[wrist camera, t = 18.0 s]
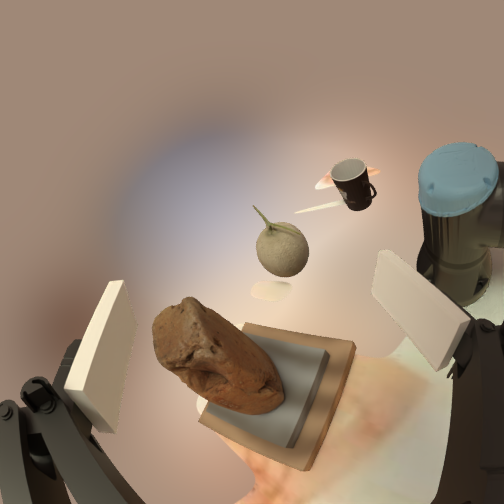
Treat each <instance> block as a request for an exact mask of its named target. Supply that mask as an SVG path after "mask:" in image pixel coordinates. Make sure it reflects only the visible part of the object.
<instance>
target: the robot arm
mask: <svg viewBox="0 0 504 504" xmlns="http://www.w3.org/2000/svg"><path fill="white" fill-rule="evenodd" d="M418 180H419V181H418V182H419V202H420V205H421V210H422V219H423V228H424V242H423V244H422V247H421V249H420V252H419V254H418V258H417V271H416V270H415V269H413V268H412V267H411V266H410V265H408V264H407V263H406V262H405V261H403V260H402V259H401V258H400V257H398V256H397V255H396V254H395V253H393V252H392V251H391V250H382V251H379V252H378V257H377V263H376V269H375V274H374V280H373V285H372V290H371V294H372V296H373V297H374V298H375V299H376V300H377V301H378V302H379V303H380V305H382V307H383V308H384V309H385V310H386V311H387V312H388V314H389V315H390V316H391V317H392V318H393V320H394V321H395V322H396V323H397V324H398V325H399V327H400V328H401V329H402V330H403V331H404V333H405V334H406V335H407V336H408V337H409V339H410V340H411V341H412V342H413V343H414V345H415V346H416V347H417V348H418V350H419V351H420V352H421V353H422V355H423V356H424V357H425V358H426V360H427V361H428V362H429V363H430V365H431V366H432V367H433V368H434V370H435V371H436V372H437V371H439V370H441V369H443V368H444V367H446V366H447V365H448V364H449V362H450V360H451V358H452V356H453V358H454V359H455V360H456V361H455V363H454V364H453V366H452V368H451V370H450V371H449V373H448V375H447V378H449V377H450V375H451V374H452V373H453V376H452V378H451V379H453V393H452V409H451V420H450V429H449V437H448V443H447V450H446V455H445V461H444V466H443V471H442V475H441V480H440V484H439V488H438V491H437V494H436V497H435V498H434V500H433V501H432V502H431V504H504V321H503V323H502V325H497V326H495V325H494V324H493V323H492V322H491V321H489V320H487V319H481V318H480V319H477V320H475V319H474V318H473V317H472V316H471V315H470V314H469V313H468V312H467V311H466V310H465V309H464V308H462V307H465V306H468V305H470V304H472V303H474V302H475V301H477V300H478V299H479V298H480V297H481V296H482V295H483V294H484V292H485V291H486V289H487V287H488V284H489V281H490V278H491V273H492V261H491V255H490V250H489V247H496V248H504V162H497V161H496V160H495V158H494V156H493V155H492V154H491V153H490V152H489V151H488V150H487V149H485V148H483V147H477V145H476V144H473V143H466V142H458V143H451V144H447V145H444V146H442V147H440V148H438V149H436V150H434V151H433V153H431V154H430V155H428V156H427V157H426V158H425V160H424V161H423V163H422V165H421V167H420V169H419V174H418ZM137 326H138V323H137V320H136V318H135V315H134V312H133V309H132V306H131V302H130V299H129V296H128V293H127V289H126V286H125V283H124V280H119V281H110V282H109V284H108V286H107V288H106V290H105V292H104V294H103V296H102V298H101V300H100V302H99V304H98V306H97V308H96V311H95V313H94V315H93V317H92V319H91V321H90V324H89V326H88V328H87V330H86V333H85V335H84V337H83V340H74V341H73V343H72V344H71V345H70V346H69V347H68V348H67V350H66V353H65V355H64V359H63V360H62V362H61V366H60V367H59V369H58V372H57V374H56V377H55V379H54V382H53V384H52V386H51V384H50V383H49V382H48V380H47V379H46V378H44V377H34V378H31V379H30V380H28V381H27V382H26V383H25V384H24V386H23V387H22V390H21V393H20V394H21V399H22V401H23V402H24V403H25V404H26V405H27V406H28V407H23V408H19V406H18V405H17V404H16V403H15V402H14V401H12V400H5V401H3V402H1V403H0V489H1V494H2V499H3V504H71V502H70V499H69V496H68V493H67V490H66V487H65V484H64V482H65V483H66V485H67V487H68V489H69V490H70V492H71V493H72V495H73V497H74V499H75V500H76V502H77V503H78V504H145V502H144V501H143V500H142V499H141V498H140V497H139V496H138V495H137V493H136V492H135V491H134V490H133V489H132V488H131V486H130V485H129V484H128V483H127V481H126V480H125V479H124V478H123V476H122V475H121V474H120V473H119V471H118V470H117V469H116V467H115V466H114V465H113V463H112V462H111V461H110V459H109V458H108V456H107V455H106V454H105V452H104V451H103V449H102V448H101V446H100V445H99V443H98V442H97V440H96V439H95V437H94V436H93V435H92V434H91V429H92V425H93V426H94V427H95V428H96V429H97V430H98V432H102V433H113V434H116V433H117V426H118V420H119V413H120V407H121V401H122V395H123V390H124V385H125V380H126V375H127V370H128V365H129V360H130V356H131V351H132V347H133V343H134V338H135V334H136V330H137Z"/></svg>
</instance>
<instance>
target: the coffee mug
mask: <svg viewBox="0 0 504 504" xmlns="http://www.w3.org/2000/svg"><path fill="white" fill-rule="evenodd" d="M330 176H331V178H332V180H333V181H334V183H335V185H336V187H337V188H338V190H339V192H340V193H341V195H342V197H343V199H344V201H345V202H346V204H347V206H348V208H349V209H351V210H353V211H361V210H364V209H366V208H368V207H369V206H370V204H371V203H372V199H373V198H374V197H375V196H376V194H377V192H376V190H375V188H374V186H373V185H372V184H371V183H369V179H368V173H367V168H366V163H365V162H364V161H363V160H361V159H359V158H349V159H345V160H342V161H340V162H338V163H337V164H335V165H334V166H333V167H332V169H331V171H330ZM370 187H371V188H372V190H373V191H374V195H373V196H371V190H370Z"/></svg>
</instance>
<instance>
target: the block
mask: <svg viewBox="0 0 504 504" xmlns="http://www.w3.org/2000/svg"><path fill="white" fill-rule="evenodd" d="M152 333H153V344H154V349H155V354H156V357H157V359H158V361H159V363H160V364H161V365H162V366H163V367H165V368H166V369H167V370H169V371H171V372H173V373H174V374H176V375H177V376H179V378H180V379H181V381H182V382H184V383H186V384H187V386H188V387H189V388H191V389H192V390H193V391H194V392H196V393H197V394H199V395H200V396H202V397H203V398H205V399H206V400H208V401H210V402H212V403H214V404H216V405H218V406H221V407H224V408H227V409H230V410H232V411H236V412H239V413H243V414H247V415H260V414H264V413H268V412H270V411H272V410H274V409H275V408H276V407H277V406H279V405H280V404H281V403H282V401H283V400H284V393H283V389H282V382H281V379H280V376H279V374H278V371H277V369H276V367H275V365H274V363H273V361H272V360H271V358H270V357H269V356H268V354H267V353H266V352H265V351H264V350H263V349H262V348H261V347H260V346H258V345H257V344H256V343H255V342H254V341H253V340H251V339H250V338H249V337H248V336H247V335H245V334H244V333H243V332H241V331H240V330H239V329H238V328H236V327H235V326H234V325H233V324H231V323H230V322H229V321H227V320H226V319H224V318H223V317H222V316H220V315H219V314H218V313H216V312H215V311H214V310H212V309H209V308H206V307H205V306H203V305H202V304H201V303H200V302H199V301H198V300H197V299H195V298H193V297H186V298H184V299H183V300H182V302H181V304H178V305H176V306H169V307H167V308H165V309H164V310H163V311H162V312H161V313H160V314H159V315H158V316H157V317H156V318H155V320H154V323H153V326H152Z"/></svg>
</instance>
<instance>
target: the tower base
mask: <svg viewBox="0 0 504 504" xmlns="http://www.w3.org/2000/svg"><path fill="white" fill-rule="evenodd" d="M241 332H243V333H244V334H245V335H247V336H248V337H249V338H250V339H251V340H253V341H254V342H255V343H256V344H257V345H258V346H260V347H261V348H262V349H263V350H264V351H265V352H266V353H267V354H268V356H269V357H270V358H271V360H272V361H273V363H274V365H275V367H276V369H277V371H278V374H279V376H280V379H281V382H282V389H283V393H284V400H283V401H282V403H281V404H280V405H279V406H277V407H276V408H275V409H274V410H272V411H270V412H268V413H264V414H260V415H247V414H243V413H239V412H236V411H232V410H230V409H227V408H224V407H221V406H218V405H216V404H214V403H212V402H210V401H208V403H207V405H206V407H205V409H204V411H203V413H202V415H201V417H200V419H199V421H198V422H200V423H201V424H203V425H205V426H207V427H208V428H211V429H212V430H214V431H215V432H217V433H219V434H221V435H223V436H224V437H226V438H228V439H230V440H232V441H234V442H236V443H238V444H240V445H242V446H244V447H246V448H248V449H250V450H252V451H254V452H257V453H259V454H261V455H263V456H265V457H268V458H270V459H272V460H275V461H277V462H279V463H282V464H284V465H287V466H289V467H292V468H295V469H297V470H300V471H309V470H310V468H311V466H312V464H313V462H314V460H315V458H316V456H317V453H318V451H319V449H320V447H321V445H322V442H323V440H324V438H325V435H326V433H327V430H328V428H329V426H330V423H331V421H332V418H333V416H334V413H335V410H336V408H337V405H338V402H339V400H340V397H341V394H342V391H343V388H344V386H345V383H346V380H347V377H348V374H349V370H350V367H351V364H352V361H353V358H354V354H355V351H356V346H355V344H354V342H353V341H348V340H341V339H335V338H328V337H321V336H315V335H309V334H303V333H298V332H292V331H287V330H281V329H276V328H271V327H266V326H261V325H256V324H251V323H246V322H245V324H244V326H243V329H242V331H241Z"/></svg>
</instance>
